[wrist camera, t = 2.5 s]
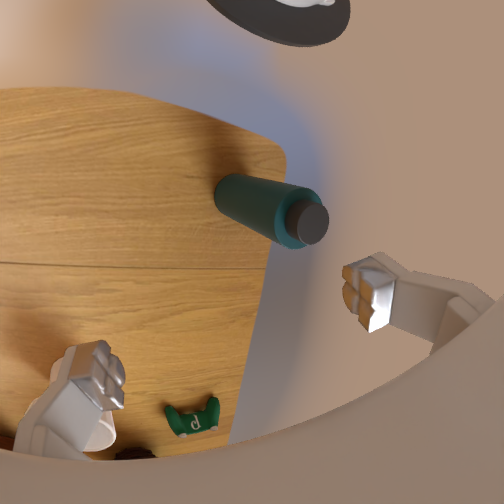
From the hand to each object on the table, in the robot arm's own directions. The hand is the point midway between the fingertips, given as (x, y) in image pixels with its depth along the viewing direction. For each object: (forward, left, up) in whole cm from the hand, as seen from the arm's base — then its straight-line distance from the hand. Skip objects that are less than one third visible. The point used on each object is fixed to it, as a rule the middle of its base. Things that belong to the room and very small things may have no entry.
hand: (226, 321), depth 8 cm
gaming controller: (+32, +12, -22) cm, 40 cm away
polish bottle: (-3, +10, -22) cm, 24 cm away
